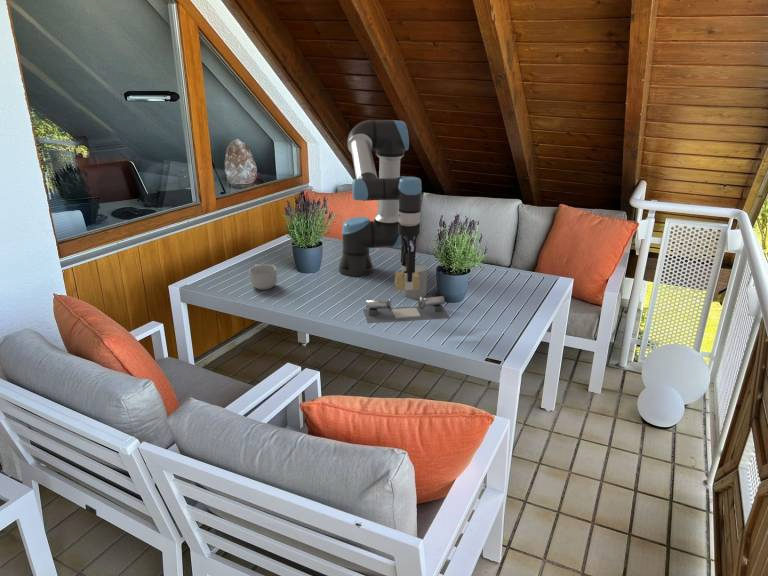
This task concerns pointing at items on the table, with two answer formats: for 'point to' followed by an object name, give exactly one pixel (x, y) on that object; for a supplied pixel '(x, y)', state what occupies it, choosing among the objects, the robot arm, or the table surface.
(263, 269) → the teacup
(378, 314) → the board
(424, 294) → the speckled tin can
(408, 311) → the off-white flat plate
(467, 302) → the table surface
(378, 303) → the shaft
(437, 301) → the shaft
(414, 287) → the coupler
